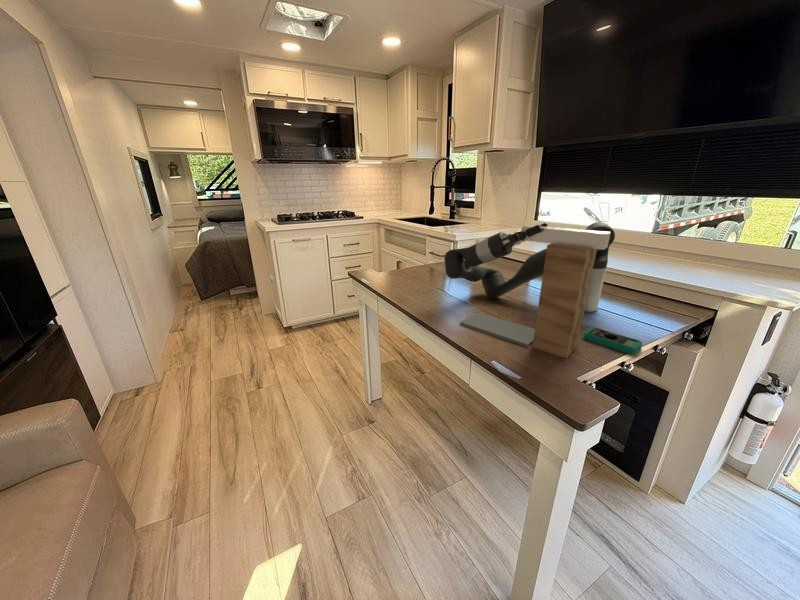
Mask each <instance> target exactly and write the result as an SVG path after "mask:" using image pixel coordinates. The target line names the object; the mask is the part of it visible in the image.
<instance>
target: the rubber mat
mask: <svg viewBox="0 0 800 600" xmlns="http://www.w3.org/2000/svg"><path fill="white" fill-rule="evenodd" d="M460 324H462V325H461V326H463V325H465V326H464V327H466V326H467V327H466V328H469V327H470V328H469V329H472V328H473V329H472V330H475V331H478V332H482V333H485V334H487V335H491V336H494V337H496V338H498V339H502V340H505V341H508V342H510V343H514V344H516V345H519V346H522V347H526V348H529V347H530V346H531V345H533V339H534V332H535V328H532V327H529V326H525V325H522V324H519V323H515V322H512V321H509V320H505V319H503V318H498V317H495V316H492V315H490V314H489V315H488V314H486V313H482V312H476V313H474V314H472V315H470V316H468V317H467V318H465V319H463V320H461V321H460V322H459V325H460Z"/></svg>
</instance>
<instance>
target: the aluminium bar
mask: <svg viewBox="0 0 800 600" xmlns="http://www.w3.org/2000/svg"><path fill="white" fill-rule="evenodd" d="M536 225H537V224H536ZM536 225H535V224H533V225H532V224H526V225H522V226H521V231H523V230H524V229H525V230H526V231H527V229H529V228H531V227H534V226H536ZM540 227H541V229H542V231H541V232H540V233H537V234H535V235H532V236H530V237H528V238H527V239H524V240H526V241H525V242H527V241H528V242H535V243H543V244H559V245H568V246H576V247H584V248H593V249H601V250H604V249H605V248H607V247H608V242H609V238H610V233H611V232H605V231H593V230H586V229H581V228H580V229H579V228H570V227H569V228H568V227H557V226H548V227H547V226H540Z"/></svg>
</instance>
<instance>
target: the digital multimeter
mask: <svg viewBox="0 0 800 600" xmlns="http://www.w3.org/2000/svg"><path fill="white" fill-rule="evenodd" d="M583 340H585V341H588V342H591V343H595V344H598V345H601V346H604V347H607V348H610V349H612V350H616V351H619V352H621V351H622V353H624V352H625V353H624V354H628V355H630V356H634V355H636V354H637V353H639V351H640V350H641V348H642V346H643V341H641V340H639V339H636V338H632V337H629V336H628V337H627V336H624V335H621V334H617V333H614V332H611V331H608V330H604V329H601V328H599V327H591V328H587V330H585V332H584V335H583Z"/></svg>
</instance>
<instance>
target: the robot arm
mask: <svg viewBox="0 0 800 600" xmlns="http://www.w3.org/2000/svg"><path fill="white" fill-rule="evenodd" d="M540 226H547V227H549V225H548V223H547V222H544V223H542V224H536V226H534V227H531V228H529V229H527V231H526V230H525V229H524V230H523V231H522V230H517V231H514V232H512V233H509V234H507V233H506V232H504V231H500V232H498V233H495V234H493V235H490V236H489V237H486V238H485V239H482V240H481V241H480V242H479V241H478V242H476V243H475V244H473V245H471V246H469V247H468V246H467V247H463V248H455V249H449V250H448V251H447V252H445V254H444V267H445V268H444V269H445V274H446V276H447V277H448V278H449V279H453V280H454V279H464V280H466V281H468V282H471V283H475V282H479V281H480V280H481V284H482V286H483V287H482V288H483V290H484V292H485V294H486V297H487V298H488V299H496V298H499V297H501V296H503V295H505V294H507V293H509V292H511V291H512V290H515V289H516V288H518V287H520V286H522V285H524V284H526V283H528V282H531V281H533V280H535V279H538V278H540V277H543V271H544V264H545V257H546V251H547V247H546V248H544V249H542V250H540V251H537V252H536V253H533V254H532V255H529V256H528V257H527V258H526V260H525V261H524V263H523V264H522V265H521V267H520V268H519V269H518V271H517V272H516V273H515V274H514V275H513V276H512V277H511V278H509V279H508V280H507V281H505V278H504V275H503V273H502V272H501V271H500V270H498V269H495V268H494V269H493V268H489V267H485V266H481V265H483V264H486V263H488V262H493V261H495V260H497V259H498V260H499V259H501V258H503V257H505V256H508V255H510V254H511V253H512V251H513V247H516V246H518V245H521V244H522V243H524V242H527V241H526V240H524V239H527V238H528V237H530V236H532V235H535V234H537V233H540V232H541V231H542V229H541V227H540ZM585 230H593V231H605V232H611V233H610V238H609V242H608V247H607V248H605V249H604V250H601V249H597V251H596V256H595V261H594V266H593V271H592V276H591V281H590V286H589V291H588V296H587V301H586V305H585V310H584V312H587V313H593V312H596V311H598V307H599V304H600V299H601V295H602V291H603V286H604V280H605V276H606V271H607V266H608V263H609V261H608V260H609V257H608V256H609V250H610V249H609V248H610V246H611V245H612V244H613V242H615V238H616V233H615V231H614V229H613V228H612V227H611V226H610V225H609V224H607V223H605V222H603V221H602V222H601V221H600V222H599V221H598V222H593V223H591V224H589V225H588V226H587V227H586V228H585Z"/></svg>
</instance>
